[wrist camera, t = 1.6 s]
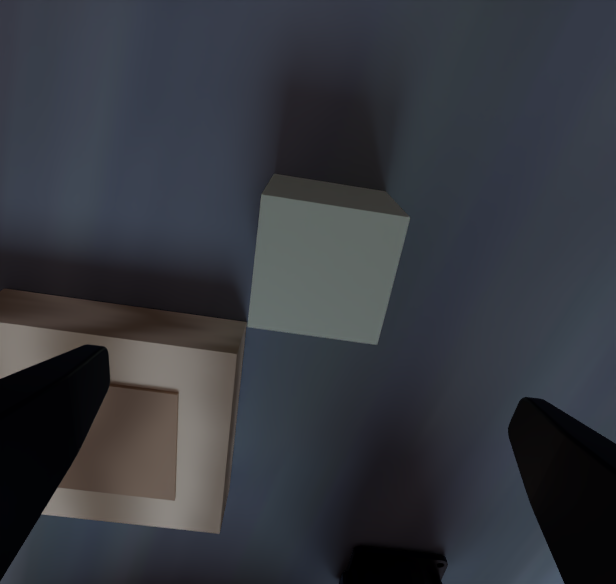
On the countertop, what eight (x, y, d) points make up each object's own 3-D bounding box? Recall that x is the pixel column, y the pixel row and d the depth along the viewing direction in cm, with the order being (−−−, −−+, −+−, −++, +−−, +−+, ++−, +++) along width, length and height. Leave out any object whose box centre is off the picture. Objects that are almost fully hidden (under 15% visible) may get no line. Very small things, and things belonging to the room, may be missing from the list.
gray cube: (385, 191, 18) (410, 217, 14) (362, 292, 20) (377, 344, 16) (274, 173, 18) (261, 194, 13) (262, 277, 20) (247, 327, 15)
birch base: (246, 322, 21) (236, 356, 18) (229, 488, 26) (218, 537, 23) (4, 288, 20) (-48, 318, 17) (33, 465, 25) (-3, 512, 22)
